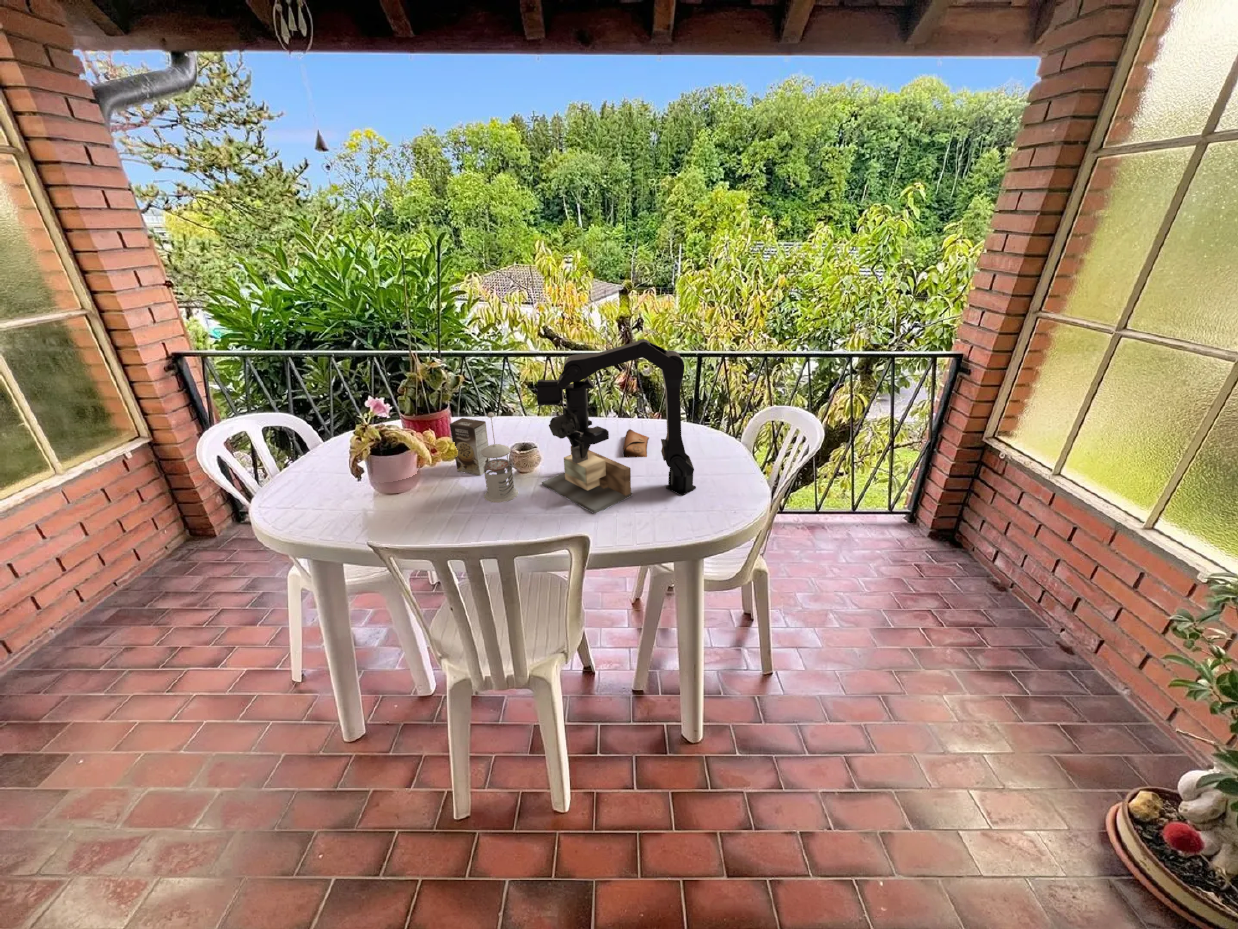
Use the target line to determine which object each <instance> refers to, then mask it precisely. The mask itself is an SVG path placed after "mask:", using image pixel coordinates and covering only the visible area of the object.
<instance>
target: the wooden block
mask: <svg viewBox="0 0 1238 929" xmlns="http://www.w3.org/2000/svg"><path fill="white" fill-rule="evenodd" d="M563 467H564V468H563V469H564V473H565V480H567V481H569V482H571V483H573V484H575V485H577V486H579V487H581V488H583V489H585V490H587V491H588V490H590V489H592V488H595V487H597V486H599V485H600V480H599V478H601V477H604V476H606V463H605V460H604V459H602V458H599V457H597V456H595V455H592V454H590V453H588V452H587V454H586V456H585V458H583V459H582V458H581V455H580V448H579V446H577V447H574V448H572V454H571V453H570V455H566V456H564V457H563Z"/></svg>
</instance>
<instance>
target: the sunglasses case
mask: <svg viewBox="0 0 1238 929" xmlns="http://www.w3.org/2000/svg"><path fill="white" fill-rule="evenodd" d="M649 439H650V437H649V436H647V435H643V434H641V433H638V432H637V431H634V430H632V429H631V428H629V429H628V430H627V431H626V432H625V437H624V443H623V448H622V455H623V457H624V458H647V457H648V450H647V449H648V443H649V442H648V441H649Z"/></svg>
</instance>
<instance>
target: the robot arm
mask: <svg viewBox="0 0 1238 929" xmlns="http://www.w3.org/2000/svg"><path fill="white" fill-rule="evenodd" d="M642 358H643V359H645V360H646V361H648V362H650V363H651V364H653V365H654V366H656V367H657V368H658V369H660V371H661V375H662V379H663V383H664V388H665V390H664V392H665V411H666V412H665V413H666V415H665V416H666V431H667V432H666V436H665V438H664V439H663V438H660V442H661V450H660V452H661V455H662V460H663V462H665V463H666V466H667V467H668V468H669V471H668V485H666V486H665V489H667V490H668V491H671V492H672V493H675V494H678V495H680V496H685V495H687V494H688V493H690V492H692V491H695V489H697V486H696V485H694V472H695V468H694V465H693V462H692V460H691V458H690V455H688V454H687V453H686V449H685V445H684V442H683V437H682V414H681V411H682V410H681V406H682V405H681V386H682V382H683V379H684V378H683V377H684V374H685V363H684V360H683V358H682V356H681V355H680V354H679V353H678V352H677V351H676V350H671V349H670V350H666V349H664V348H663V347H660V346H658V345H657V344H654V343H652V342H650V341H649V340H648V339H645V338H641V339H638V340H637V341H635V342H634V341H633V342H629V343H627V344H624V345H621V346H617V347H614V348H610V349H607V350H604V351H599V352H596V353H581V354H580V353H579V354H578V353H577V354H572V355H570V356H568V357H567V358H566V359H565V361H564V364H563V368H562V369H563V370H562V372H561V374H559V376H558V378H557V379H537V381H536V384H537V386H536V388H537V389H536V392H537V393H536V402H537V406H539V407H541V406H544V407H545V406H560V404H561V403H562V402H564V401H565V403H566V404H565V405H566V406H565V407H563V409H562V414H560V415H556V416H554V417H551V420H550V421H549V424H548V427H549V429H550V432H551V434H552V436H553V437H557V438H559V439H565V438H566V439H568V441H569V444H570V446H572V448H574V447H577V446H579V448H580V455H581V458H582V459H583V458H585V456H586V454H587V452H588V450H590V447H591V445H596V444H599V443H602V442H604V441H607V440H609V439H610V437H609V436H610V435H609V434H610V433H609V431H608V429H606V428H603V427H601V426H599V425H596V426H594V427H589V426H592V425H593V421H592V420H590V418H589V412H591V411H592V406H590V405H589V403H588V400H589V399H588V389H591V390H592V389H594V387H595V386H594V385H595V384H594V382H593V381H592V380H590V379H589V377H591V376H592V375H593V374H596V373H597V372H599V371H600V370H603V369H607V368H611V367H614V366H617V365H620V364H625V363H628V362H631V361H633V360H634V361H635V360H637V359H638V360H639V359H642ZM564 391H565V394H564ZM564 395H565V396H564ZM564 399H565V400H564Z"/></svg>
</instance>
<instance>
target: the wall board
mask: <svg viewBox="0 0 1238 929" xmlns="http://www.w3.org/2000/svg"><path fill="white" fill-rule="evenodd" d="M588 453H590V454H592V455H595V456H597V457H599V458H602V459H604V460H605V463H606V476H604V477H601V478H599V480H600V485H599V486H597V487H595V488H592V489H590V490H588V491H587V490H585V489H583V488H581V487H579V486H577V485H575V484H573V483H571V482H569V481H567V480H565V472H563V473H560V474H558V475H555V476H552V477H550V478H548V479H545V480H543V481H541V485H542V486H543V487H545V488H547V489H549V490H550V491H553V492H555V493H556V494H558V495H560V496H561V497H563V498H564V499H565V498H566V499H567V500H569V501H570V502H572V503H574V504H575V505H578V506H580V507H582V508H583V509H585V510H587V511H589V512H591V513H592V512H593V513H592V514H594V515H596V514H598V513H600V512H602V511H604V510H606V509H608V508H610V507H612V506H614V505H616V504H619V503H621V502H623V501H624V500H626V499H628V498H631V497H633V492H632V490H631V489H632V488H631V487H632V485H631V484H632V483H631V482H632V480H631V478H632V476H631V475H632V474H631V471H632V470H631V467H630V466H627V465H625V464H622V463H620V462H619V461H615V460H613V459H611V458H609V457H607V456H604V455H602V454H599V453H597V452H595V451H593V450H590V449H589V450H588ZM571 454H572V445H570V455H571Z"/></svg>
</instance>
